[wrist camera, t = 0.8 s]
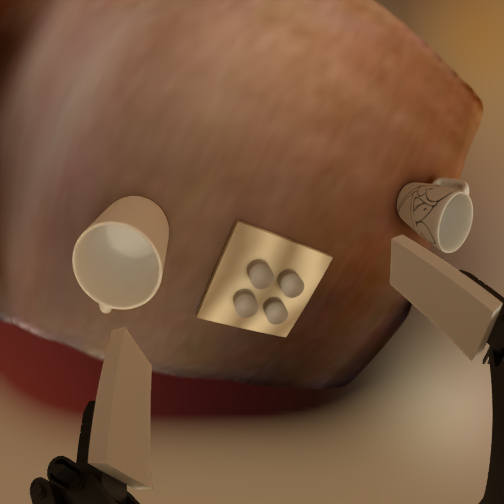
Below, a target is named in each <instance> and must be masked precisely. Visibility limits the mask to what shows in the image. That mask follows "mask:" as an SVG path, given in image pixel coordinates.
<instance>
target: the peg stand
mask: <svg viewBox="0 0 504 504" xmlns="http://www.w3.org/2000/svg"><path fill="white" fill-rule="evenodd" d="M332 258H333V257H331V256H330V255H329V254H327V253H324V252H322V251H319V250H316V249H314V248H311V247H309V246H306V245H304V244H301V243H299V242H296V241H294V240H291V239H288V238H286V237H283V236H281V235H278V234H275V233H273V232H270V231H268V230H265V229H262V228H260V227H257V226H254V225H252V224H249V223H246V222H244V221H241V220H238V219H236V221H235V224H234V226H233V228H232V230H231V233H230V235H229V237H228V240H227V242H226V244H225V247H224V249H223V251H222V253H221V256H220V258H219V260H218V263H217V265H216V267H215V270H214V272H213V274H212V277H211V279H210V282H209V284H208V286H207V289H206V291H205V293H204V296H203V298H202V301H201V303H200V306H199V308H198V310H197V313H196V314H197V318H201V319H205V320H209V321H213V322H217V323H222V324H226V325H230V326H234V327H239V328H243V329H248V330H253V331H257V332H262V333H267V334H272V335H277V336H282V337H287V335H288V333H289V332H290V330H291V329H292V327H293V325H294V324H295V322H296V320H297V319H298V317H299V316H300V314H301V312H302V311H303V309H304V307H305V306H306V304H307V302H308V301H309V299H310V297H311V295H312V294H313V292H314V290H315V289H316V287H317V285H318V283H319V282H320V280H321V278H322V276H323V275H324V273H325V271H326V269H327V267H328V266H329V264H330V262H331V260H332Z"/></svg>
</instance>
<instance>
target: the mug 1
mask: <svg viewBox="0 0 504 504" xmlns="http://www.w3.org/2000/svg"><path fill="white" fill-rule="evenodd" d="M168 239H169V226H168V221H167V218H166V216H165V214H164V212H163V211H162V209H161V208H160V207H159V206H158V205H157V204H156V203H154V202H153V201H151V200H150V199H147V198H145V197H141V196H128V197H124V198H121V199H119V200H117V201H115V202H114V203H113V204H111V205H110V206H109V207H108V208H107V209H106V210H105V211H104V212H103V213H102V214H101V215H100V216H99V217H98V218H97V219H96V220H95V221H94V222H93V223H92V224H91V225H90V226H89V227H88V228H87V229H86V230H85V231H84V232H83V233H82V234H81V235H80V237H79V238H78V240H77V242H76V244H75V247H74V250H73V256H72V264H73V270H74V274H75V277H76V279H77V281H78V283H79V285H80V286H81V288H82V289H83V290H84V292H85V293H86V294H87V295H88V296H89V297H91V298H92V299H93V300H95V301H96V302H98V303H99V307H100V310H101V311H102V312H103V313H109V312H110V311H111V310H112V308H113V309H132V308H136V307H138V306H141V305H143V304H145V303H146V302H147V301H149V300H150V299H151V298H152V297H153V296H154V295H155V293H156V292H157V290H158V288H159V286H160V283H161V280H162V274H163V268H164V262H165V256H166V250H167V245H168Z"/></svg>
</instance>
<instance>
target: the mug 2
mask: <svg viewBox="0 0 504 504" xmlns="http://www.w3.org/2000/svg"><path fill="white" fill-rule="evenodd" d="M449 187H450V188H449ZM453 188H456V189H453ZM457 189H460V190H457ZM468 195H469V187H468V184H467V183H466V182H465V181H463V180H460V179H452V178H445V177H441V178H437V179H436V180H435V181H434V182H433V183H432V184H429V183H417V182H413V183H409V184H407V185H405V186H404V187H403V188H402V190H401V191H400V193H399V195H398V199H397V211H398V214H399V216H400V218H401V219H402V220H403V221H404V222H405V223H407V224H408V225H409V226H410V227H411V228H412V229H413V230H415V231H416V232H417V233H418V234H419V235H420V236H422V237H423V238H424V239H426V240H427V241H429V242H430V243H431V244H433V245H435V246H436V247H437V248H439V249H440V250H441V251H443V252H446V253H451V252H454V251H456V250H457V249H458V248H459V247H460V246H461V245H462V244H463V242H464V241H465V239H466V238H467V236H468V233H469V231H470V228H471V224H472V219H473V205H472V201H471V199H470V197H469V196H468Z"/></svg>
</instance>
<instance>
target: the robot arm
mask: <svg viewBox="0 0 504 504" xmlns="http://www.w3.org/2000/svg"><path fill="white" fill-rule="evenodd" d="M390 285H392V286H393V287H394V288H395V289H396V290H397V291H398V292H400V293H401V294H402V295H403V296H404V297H405V298H406V299H407V300H409V301H410V302H411V303H412V304H413V305H414V306H415V307H416V308H417V309H418V310H420V311H421V312H422V313H423V314H424V315H425V316H426V317H427V318H428V319H429V320H430V321H431V322H432V323H433V324H435V325H436V326H437V327H438V328H439V329H440V330H441V331H442V332H443V333H444V334H445V335H446V336H447V337H448V338H449V339H450V340H451V341H452V342H453V343H454V344H455V345H456V346H457V347H458V348H459V349H460V350H461V351H462V352H463V353H464V354H465V355H466V356H467V357H468V358H469V359H470V360H471V361H473V360H474V359H475V358H476V357H477V356H479V355H480V354H481V353H482V351H483V349H484V347H485V345H486V343H488V344H489V345H490V347H489V349H488V351H487V353H486V355H485V357H484V359H483V364H485V362H486V360H487V358H488V357H489V361H488V364H490V370H491V383H492V399H493V400H492V405H493V424H492V425H493V426H492V444H491V456H490V466H489V472H488V479H487V485H486V490H485V494H484V497H483V499H482V500H481V501H480V503H479V504H504V298H503V297H502V296H501V295H500V294H498V293H497V292H495V291H494V290H493V289H492V288H490V287H489V286H488V285H485V284H484V283H483V282H482V281H480V280H478V278H476V277H475V276H474V275H472V274H471V273H468V272H466V271H463V270H457V269H456V268H454V267H453V266H451V265H450V264H448V263H447V262H445V261H444V260H442V259H441V258H439V257H437V256H436V255H435V254H433V253H431V252H430V251H428V250H427V249H425V248H424V247H422V246H420V245H419V244H417V243H416V242H414V241H412V240H411V239H409V238H407V237H406V236H404V235H400V236H397V237H395V238H392V239H391V271H390ZM151 372H152V366H151V364H150V363H149V361H148V360H147V358H146V357H145V356H144V354H143V353H142V351H141V350H140V348H139V347H138V345H137V344H136V342H135V341H134V339H133V338H132V336H131V335H130V333H129V331H128V330H127V328H126V327H122V328H118V329H114V330H112V331H111V334H110V338H109V342H108V346H107V350H106V354H105V359H104V363H103V367H102V372H101V377H100V381H99V387H98V392H97V397H96V401H89V403H88V405H87V407H86V409H85V410H84V413H83V418H82V425H81V433H80V437H79V444H78V453H77V461H76V463H75V462H73V461H72V460H70V459H69V458H67V457H64V456H57V457H56V458H54V459H53V460H52V461H51V462H50V464H49V466H48V469H47V476H48V479H49V481H48V480H46V479H44V478H42V477H39V478H36V479H34V480H33V482H32V483H31V486H30V495H31V499H32V503H33V504H140V503H139V502H138V501H137V500H136V499H135V498H134V497H133V496H132V495H131V494H130V493H129V492H128V491H127V485H128V486H130V487H132V488H134V489H152V488H153V485H152V470H151V446H150V397H151Z"/></svg>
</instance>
